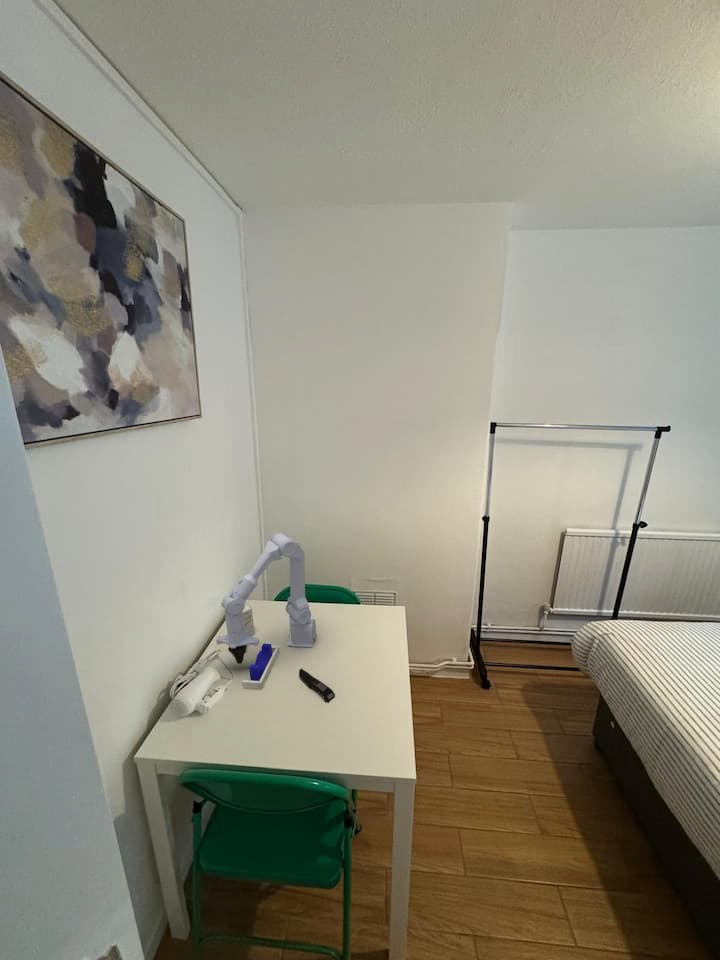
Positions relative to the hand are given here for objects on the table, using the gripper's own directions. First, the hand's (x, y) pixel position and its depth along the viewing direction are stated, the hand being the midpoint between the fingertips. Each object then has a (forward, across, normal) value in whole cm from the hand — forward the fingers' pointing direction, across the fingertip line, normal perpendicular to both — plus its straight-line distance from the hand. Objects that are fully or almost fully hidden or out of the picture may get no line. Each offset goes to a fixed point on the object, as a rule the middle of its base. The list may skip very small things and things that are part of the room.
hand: (240, 661), depth 130 cm
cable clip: (+3, +7, 0) cm, 8 cm away
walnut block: (+2, -4, +9) cm, 10 cm away
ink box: (+3, -7, +17) cm, 19 cm away
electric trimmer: (+3, +28, -7) cm, 29 cm away
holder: (+2, +8, 0) cm, 8 cm away
